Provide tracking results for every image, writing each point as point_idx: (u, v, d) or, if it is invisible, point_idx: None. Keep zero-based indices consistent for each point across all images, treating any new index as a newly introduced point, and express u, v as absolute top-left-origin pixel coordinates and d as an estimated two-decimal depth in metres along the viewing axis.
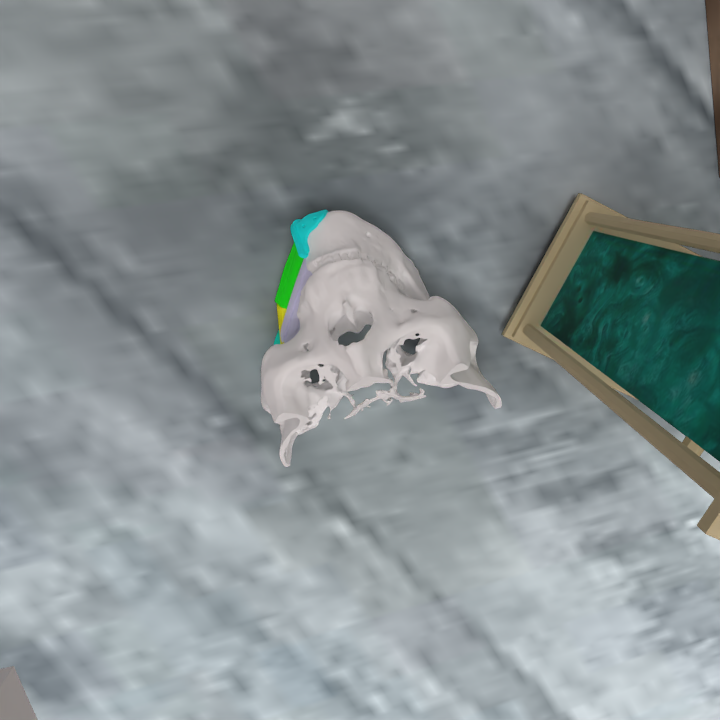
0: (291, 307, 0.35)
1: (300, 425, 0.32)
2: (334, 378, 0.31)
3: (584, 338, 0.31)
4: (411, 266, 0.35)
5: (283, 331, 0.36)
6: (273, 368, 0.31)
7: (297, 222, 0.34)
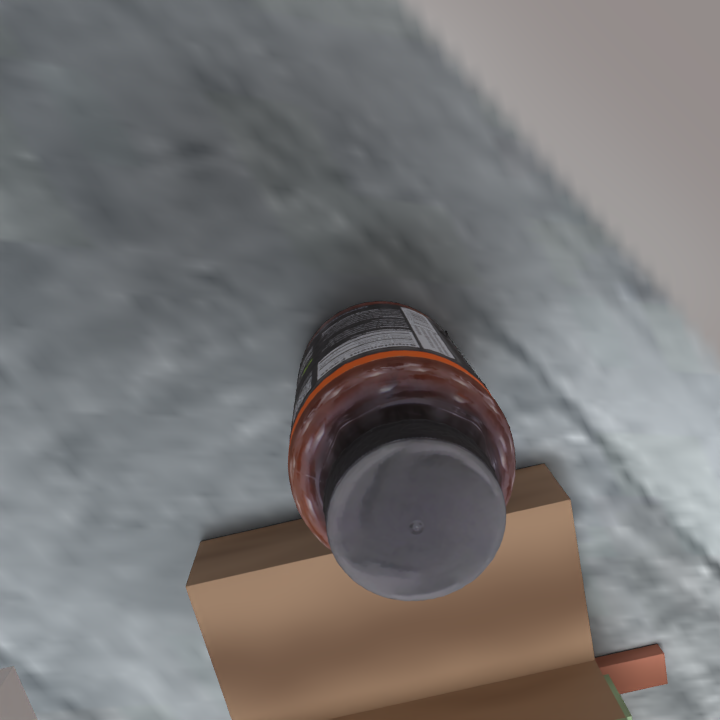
0: None
1: None
2: None
3: None
4: None
5: None
6: None
7: None
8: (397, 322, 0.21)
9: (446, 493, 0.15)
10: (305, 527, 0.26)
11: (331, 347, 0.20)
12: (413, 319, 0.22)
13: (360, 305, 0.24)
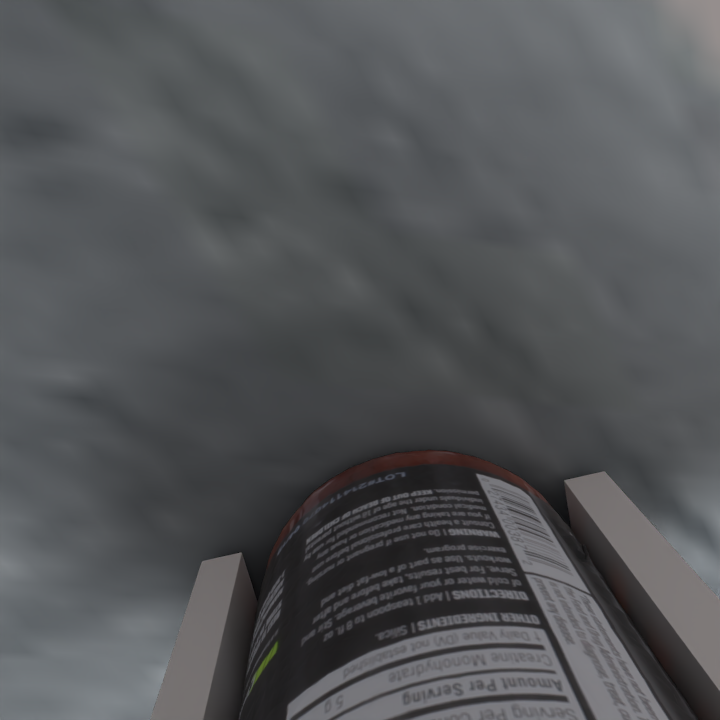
0: None
1: None
2: None
3: None
4: None
5: None
6: None
7: None
8: (492, 567, 0.08)
9: None
10: None
11: (324, 651, 0.08)
12: (519, 534, 0.09)
13: (389, 464, 0.11)
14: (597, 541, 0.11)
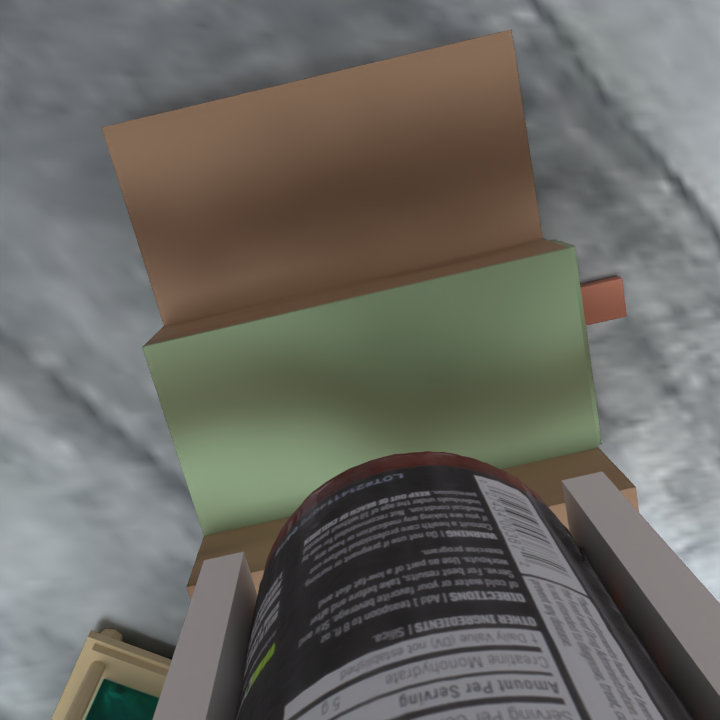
0: None
1: None
2: None
3: None
4: None
5: None
6: None
7: None
8: (489, 569, 0.08)
9: None
10: None
11: (322, 653, 0.08)
12: (517, 536, 0.09)
13: (387, 465, 0.11)
14: (595, 541, 0.11)
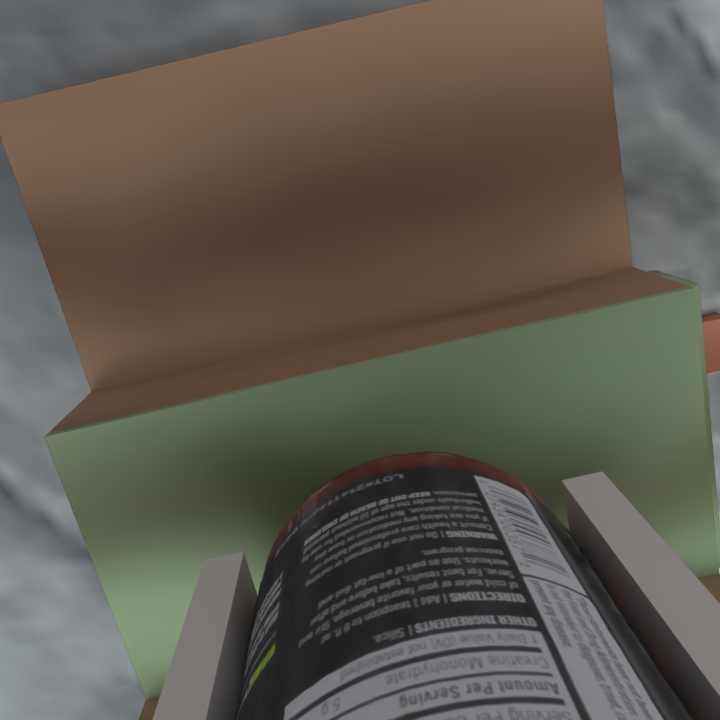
0: None
1: None
2: None
3: None
4: None
5: None
6: None
7: None
8: (489, 569, 0.08)
9: None
10: None
11: (322, 654, 0.08)
12: (517, 536, 0.09)
13: (387, 465, 0.11)
14: (595, 542, 0.11)
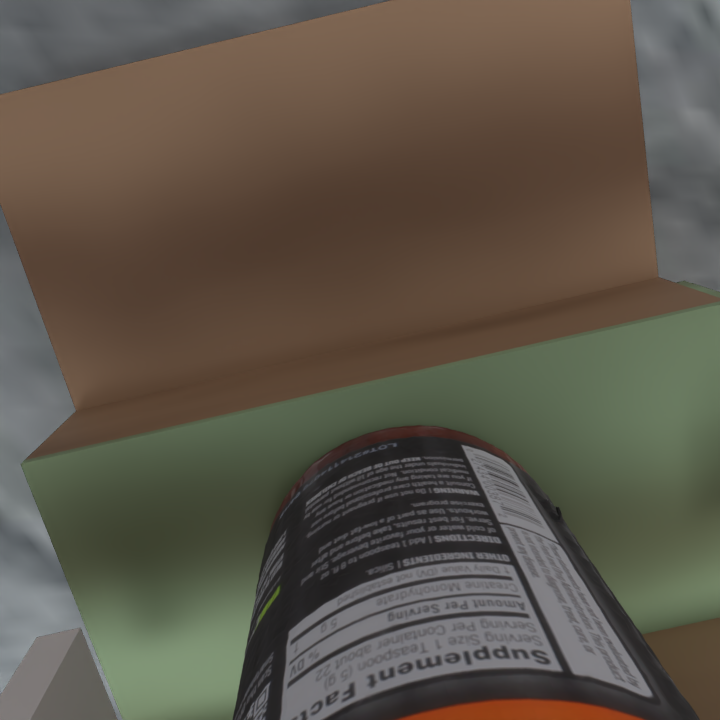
0: None
1: None
2: None
3: None
4: None
5: None
6: None
7: None
8: (470, 518, 0.09)
9: None
10: None
11: (321, 587, 0.09)
12: (497, 494, 0.10)
13: (382, 436, 0.12)
14: None
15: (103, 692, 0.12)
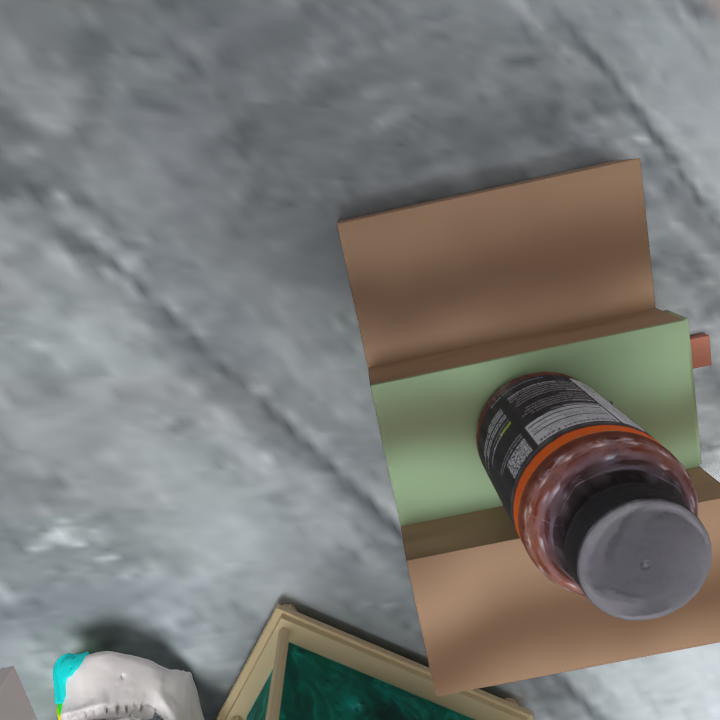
0: None
1: None
2: None
3: None
4: (174, 686, 0.38)
5: None
6: None
7: (61, 660, 0.37)
8: (582, 395, 0.26)
9: (670, 540, 0.20)
10: (423, 202, 0.33)
11: (533, 414, 0.25)
12: (589, 392, 0.27)
13: (534, 375, 0.29)
14: None
15: None
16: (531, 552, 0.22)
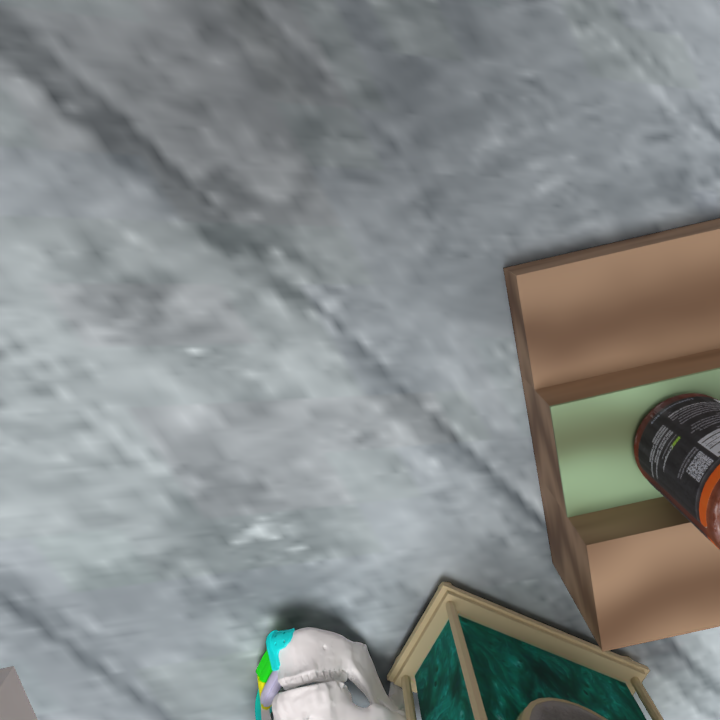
0: (268, 690, 0.46)
1: None
2: None
3: None
4: (359, 655, 0.46)
5: (262, 699, 0.47)
6: None
7: (271, 635, 0.45)
8: None
9: None
10: (577, 253, 0.41)
11: (702, 431, 0.33)
12: None
13: (684, 396, 0.37)
14: None
15: None
16: (719, 537, 0.30)
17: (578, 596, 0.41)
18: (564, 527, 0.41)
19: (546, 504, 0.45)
